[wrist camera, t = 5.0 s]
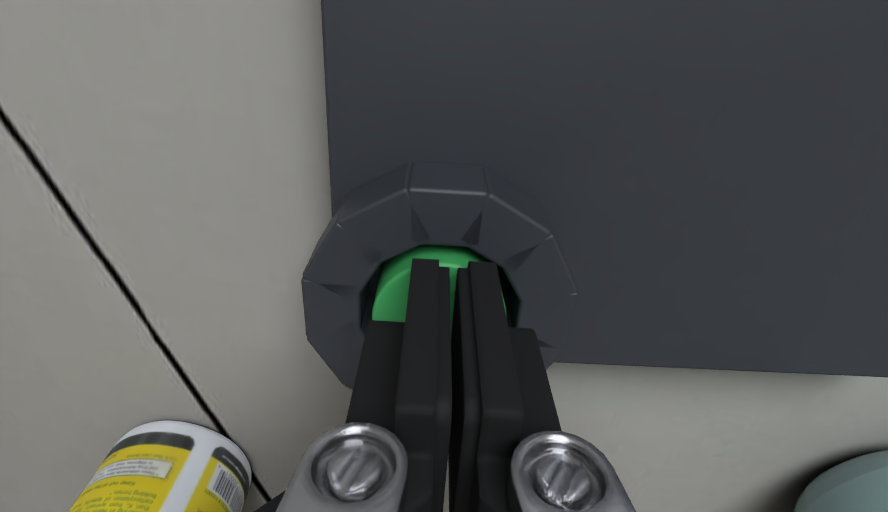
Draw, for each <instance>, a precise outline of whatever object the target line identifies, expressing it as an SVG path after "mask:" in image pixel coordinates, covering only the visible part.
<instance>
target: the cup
mask: <svg viewBox="0 0 888 512" xmlns="http://www.w3.org/2000/svg"><path fill="white" fill-rule="evenodd" d="M793 512H888V450H883V451H877V452H872V453H869V454H865V455H861V456H858V457H855V458H853V459H850V460H847V461H844V462H842V463H840V464H838V465H836V466H834V467H832V468H830V469H828V470H827V471H825V472H823V473H822V474H820V475H819V476H817V477H816V478H815V479H814V480H813V481H811V482H810V483H809V484H808V485H807V487H806V488H805V489H804V491H803V492H802V493H801V495H800V496H799V498H798V500H797V502H796V505H795V507H794V511H793Z"/></svg>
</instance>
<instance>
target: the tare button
mask: <svg viewBox="0 0 888 512" xmlns="http://www.w3.org/2000/svg"><path fill="white" fill-rule="evenodd" d="M412 258H420V259H439V267H449V268H450V316H451V335H452V324H453V312H454V301H455V290H456V278H457V269H458V268H467V267H468V262H469V261H476V262H492V261H490V260H488V259H487V258H485V257H483V256H482V255H480V254H478V253H477V252H475V251H473V250H472V249H470V248H468V247H459V246H440V245H419V246H417V247H415V248H413V249H411V250H408V251H406V252H404V253H402V254H399V255H397V256H395V257H393V258H390V259H388V260H386V261H384V263H383V265H382V268H381V271H380V276H379V280H378V285H377V290H376V295H375V300H374V304H373V309H372V320H375V321H395V322H405V318H406V309H407V300H408V291H409V283H410V274H411V265H412ZM497 270H498V269H497ZM498 275H499V273H498ZM499 281H500V277H499ZM500 286H501V282H500ZM501 291H502V287H501ZM502 297H503V292H502ZM503 302H504V297H503ZM504 307H505V302H504ZM505 313H506V307H505Z"/></svg>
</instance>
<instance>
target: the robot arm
mask: <svg viewBox="0 0 888 512" xmlns="http://www.w3.org/2000/svg"><path fill="white" fill-rule="evenodd" d="M448 458H449V512H636V511H635V509H634V507H633V505H632V503H631V501H630V499H629V497H628V495H627V493H626V491H625V489H624V487H623V486H622V484H621V482H620V480H619V478H618V476H617V474H616V472H615V470H614V468H613V467H612V465H611V464H610V462H609V461H608V460H607V458H606V457H605V455H604V454H603V453H602V452H600V451H599V450H598V449H597V448H596V447H595V446H594V445H592V444H591V443H589V442H587V441H586V440H584V439H582V438H580V437H578V436H576V435H572V434H569V433H566V432H562V431H561V427H560V423H559V419H558V416H557V412H556V408H555V404H554V400H553V397H552V393H551V389H550V385H549V381H548V377H547V374H546V370H545V366H544V362H543V358H542V355H541V351H540V347H539V343H538V339H537V335H536V333H535V330H534V329H532V328H514V327H508V324H507V318H506V313H505V307H504V302H503V297H502V291H501V286H500V281H499V275H498V270H497V265H496V263H494V262H476V261H469V262H468V267H467V268H458V269H457V278H456V290H455V301H454V312H453V324H452V335H451V316H450V268H449V267H439V259H420V258H412V265H411V274H410V283H409V291H408V300H407V309H406V318H405V322H395V321H375V320H369V322H368V325H367V329H366V334H365V338H364V343H363V347H362V352H361V356H360V361H359V365H358V370H357V374H356V379H355V383H354V388H353V392H352V397H351V401H350V406H349V410H348V415H347V419H346V424H343V425H338V426H336V427H334V428H332V429H330V430H328V431H325V432H324V433H322V434H321V435H320V436H319V437H317V438H316V439H315V440H314V441H313V442H311V444H310V445H309V447H308V448H307V450H306V451H305V453H304V454H303V456H302V458H301V460H300V462H299V464H298V466H297V468H296V470H295V472H294V475H293V477H292V479H291V481H290V483H289V485H288V487H287V489H286V490H285V491H284V492H282V493H281V494H279V495H278V496H276V497H275V498H273V499H272V500H271V501H269V502H268V503H266V504H265V505H263V506H262V507H260V508H259V509H257V510H256V511H254V512H443V502H444V492H445V482H446V471H447V461H448Z"/></svg>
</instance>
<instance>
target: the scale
mask: <svg viewBox="0 0 888 512" xmlns="http://www.w3.org/2000/svg"><path fill="white" fill-rule="evenodd" d="M321 10H322V30H323V49H324V69H325V88H326V108H327V127H328V147H329V166H330V186H331V205H332V220H331V221H330V223H329V224H328V226H327V228H326V229H325V231H324V233H323V234H322V236H321V238H320V239H319V241H318V243H317V245H316V247H315V249H314V251H313V253H312V256H311V258H310V260H309V262H308V264H307V266H306V268H305V270H304V273H303V278H302V280H301V282H302V293H303V304H304V315H305V326H306V335H307V340H308V341H309V343H310V344H311V345H312V346H313V348H314V349H315V350H316V351H317V353H318V354H319V355H320V356H321V358H322V359H323V360H324V361H325V363H326V364H327V365H328V366H329V368H330V369H331V370H332V371H333V373H334V374H335V375H336V376H337V378H338V379H339V380H340V381H341V383H342V384H343V385H345V386H346V387H348V388H350V389H353V388H354V383H355V379H356V374H357V370H358V365H359V361H360V356H361V352H362V347H363V343H364V338H365V334H366V329H367V325H368V322H369V320H372V309H373V304H374V300H375V295H376V290H377V285H378V280H379V276H380V271H381V268H382V265H383V263H384V261H386V260H388V259H390V258H393V257H395V256H397V255H399V254H402V253H404V252H406V251H408V250H411V249H413V248H415V247H417V246H419V245H440V246H459V247H468V248H470V249H472V250H473V251H475V252H477V253H478V254H480V255H482V256H483V257H485V258H487V259H488V260H490V261H492V262H494V263H496V265H497V269H498V273H499V277H500V282H501V287H502V292H503V297H504V302H505V307H506V318H507V324H508V327H514V328H532V329H534V330H535V333H536V335H537V339H538V343H539V347H540V351H541V355H542V358H543V362H544V366H545V370H546V369H547V368H548V367H549V366H550V365H551V364H552V363H553V362H562V363H584V364H606V365H628V366H651V367H673V368H695V369H717V370H740V371H762V372H784V373H806V374H829V375H851V376H873V377H888V0H321Z"/></svg>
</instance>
